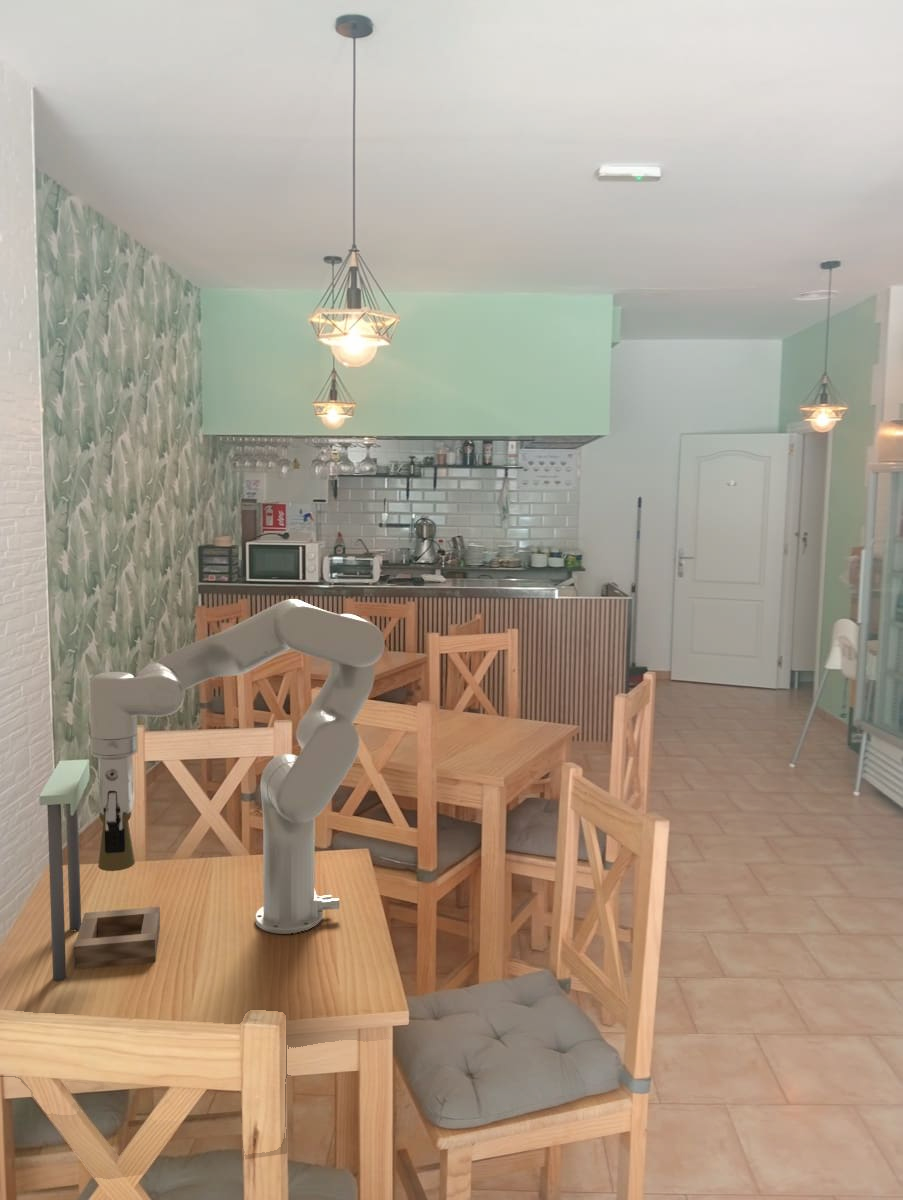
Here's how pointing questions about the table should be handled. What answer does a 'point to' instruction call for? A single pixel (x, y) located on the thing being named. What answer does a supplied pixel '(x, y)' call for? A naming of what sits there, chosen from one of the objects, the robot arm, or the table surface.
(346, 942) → the table surface
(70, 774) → the stand
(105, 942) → the socket block
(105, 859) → the olive pawn
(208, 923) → the table surface
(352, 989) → the table surface
